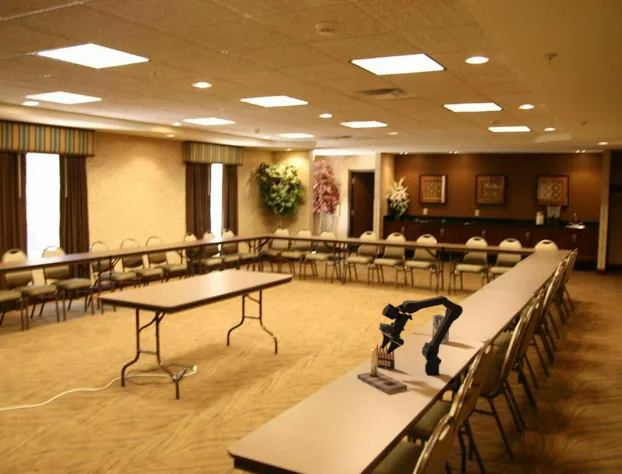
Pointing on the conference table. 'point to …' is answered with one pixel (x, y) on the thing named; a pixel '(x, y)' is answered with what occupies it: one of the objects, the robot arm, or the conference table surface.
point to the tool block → (382, 382)
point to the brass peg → (374, 362)
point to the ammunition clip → (385, 358)
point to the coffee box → (436, 324)
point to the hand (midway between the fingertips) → (384, 351)
